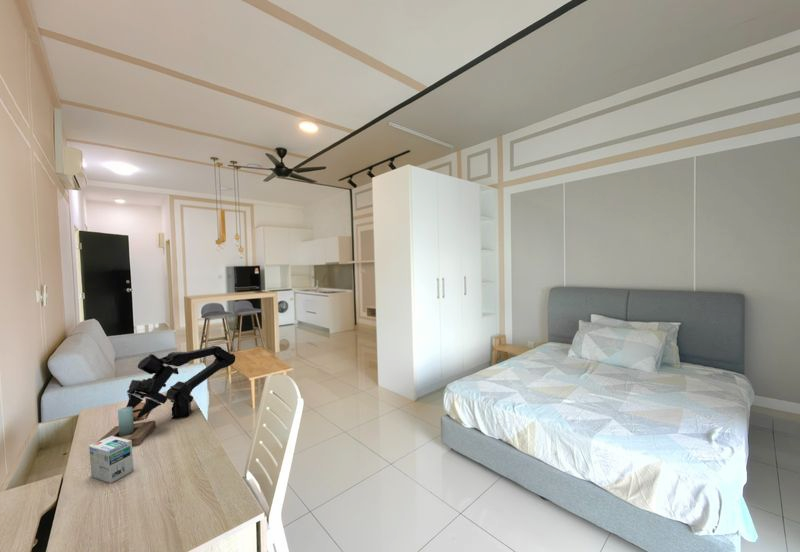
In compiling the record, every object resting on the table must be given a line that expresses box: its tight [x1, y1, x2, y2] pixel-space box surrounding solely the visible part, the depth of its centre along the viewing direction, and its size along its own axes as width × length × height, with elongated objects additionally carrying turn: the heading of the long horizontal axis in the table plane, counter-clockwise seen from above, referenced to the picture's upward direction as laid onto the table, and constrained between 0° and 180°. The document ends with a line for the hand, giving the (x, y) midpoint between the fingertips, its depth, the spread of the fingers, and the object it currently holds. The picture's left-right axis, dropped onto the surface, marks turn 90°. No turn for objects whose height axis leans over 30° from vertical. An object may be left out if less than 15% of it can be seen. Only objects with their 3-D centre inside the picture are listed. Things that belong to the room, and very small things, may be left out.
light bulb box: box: [88, 436, 134, 484], centre depth 103 cm, size 11×7×11 cm, turn 71°
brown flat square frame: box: [96, 420, 156, 448], centre depth 124 cm, size 14×14×3 cm
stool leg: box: [117, 406, 135, 437], centre depth 123 cm, size 4×4×12 cm
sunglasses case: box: [133, 401, 151, 423], centre depth 146 cm, size 18×7×7 cm
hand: (131, 415), depth 125 cm, fingers open, 9 cm apart
